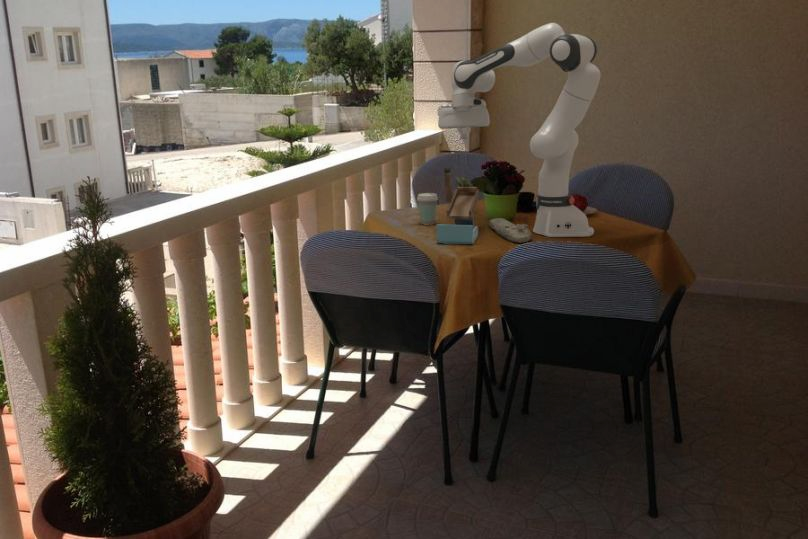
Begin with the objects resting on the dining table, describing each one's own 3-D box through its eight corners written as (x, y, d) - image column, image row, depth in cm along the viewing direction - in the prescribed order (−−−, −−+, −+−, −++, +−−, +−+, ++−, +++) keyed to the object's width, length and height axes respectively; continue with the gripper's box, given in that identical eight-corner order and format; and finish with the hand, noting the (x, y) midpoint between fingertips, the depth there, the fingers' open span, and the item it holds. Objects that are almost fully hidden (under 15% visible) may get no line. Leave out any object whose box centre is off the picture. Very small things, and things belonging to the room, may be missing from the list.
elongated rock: (506, 227, 294) (483, 230, 293) (506, 214, 293) (482, 217, 292) (538, 242, 261) (512, 245, 259) (538, 227, 260) (511, 231, 258)
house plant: (440, 212, 319) (439, 174, 315) (463, 207, 327) (463, 171, 323) (461, 216, 308) (461, 178, 304) (485, 212, 316) (485, 174, 312)
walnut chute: (479, 201, 286) (477, 158, 277) (471, 223, 269) (469, 178, 261) (450, 200, 289) (448, 158, 280) (440, 222, 272) (438, 178, 264)
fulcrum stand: (478, 230, 283) (478, 206, 280) (475, 233, 277) (475, 209, 275) (452, 229, 285) (452, 206, 283) (449, 233, 280) (449, 209, 277)
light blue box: (477, 236, 273) (477, 218, 271) (472, 245, 261) (472, 225, 259) (443, 235, 276) (443, 217, 274) (436, 243, 264) (436, 224, 262)
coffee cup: (436, 226, 292) (436, 196, 289) (415, 225, 294) (415, 196, 291) (439, 221, 300) (439, 192, 297) (419, 221, 302) (418, 192, 299)
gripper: (436, 104, 287) (437, 139, 287) (488, 100, 282) (489, 136, 283) (438, 107, 293) (439, 141, 293) (489, 103, 289) (490, 138, 289)
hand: (464, 138), depth 288 cm, fingers closed
